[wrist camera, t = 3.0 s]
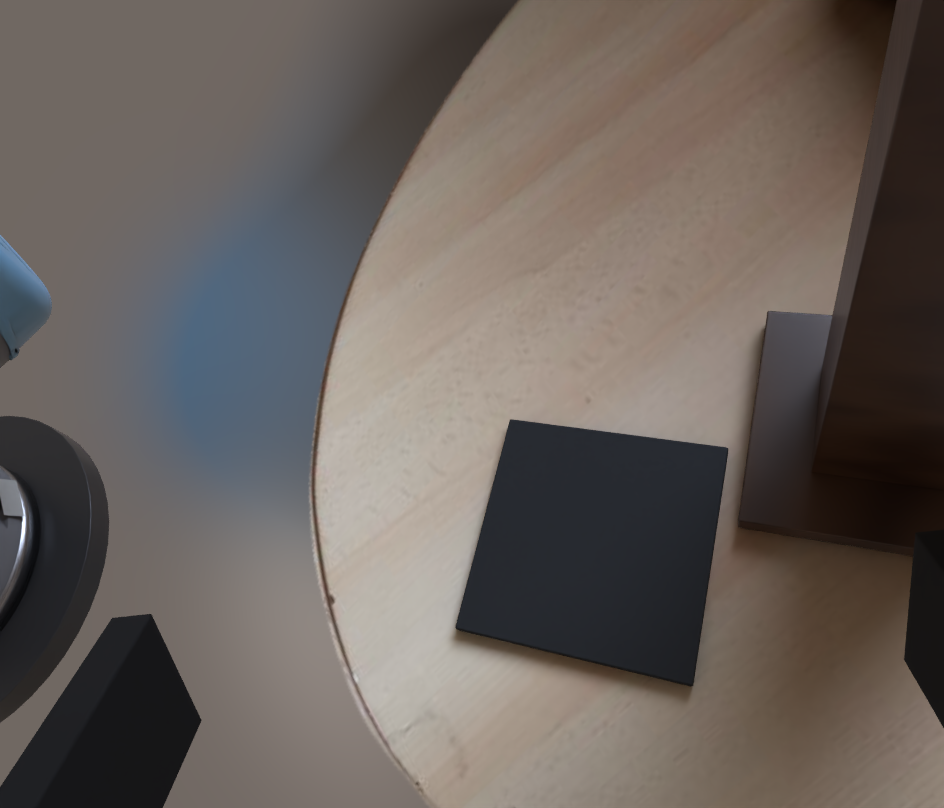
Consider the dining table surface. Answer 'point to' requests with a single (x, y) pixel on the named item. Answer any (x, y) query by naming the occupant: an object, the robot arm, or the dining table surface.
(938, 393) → the box on pedestal
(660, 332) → the dining table surface
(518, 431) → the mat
